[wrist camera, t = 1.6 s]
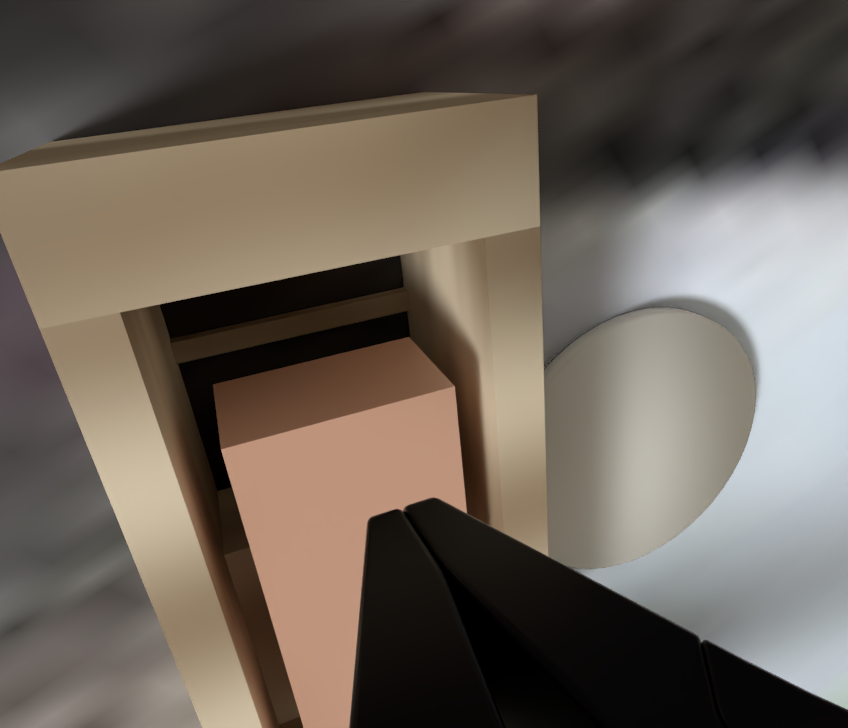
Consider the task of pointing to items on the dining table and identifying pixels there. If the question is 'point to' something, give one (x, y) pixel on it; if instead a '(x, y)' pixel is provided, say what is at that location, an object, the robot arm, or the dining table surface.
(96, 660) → the dining table surface
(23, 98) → the dining table surface
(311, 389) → the terracotta block
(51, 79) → the dining table surface
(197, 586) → the beech pocket board
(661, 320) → the felt coaster
